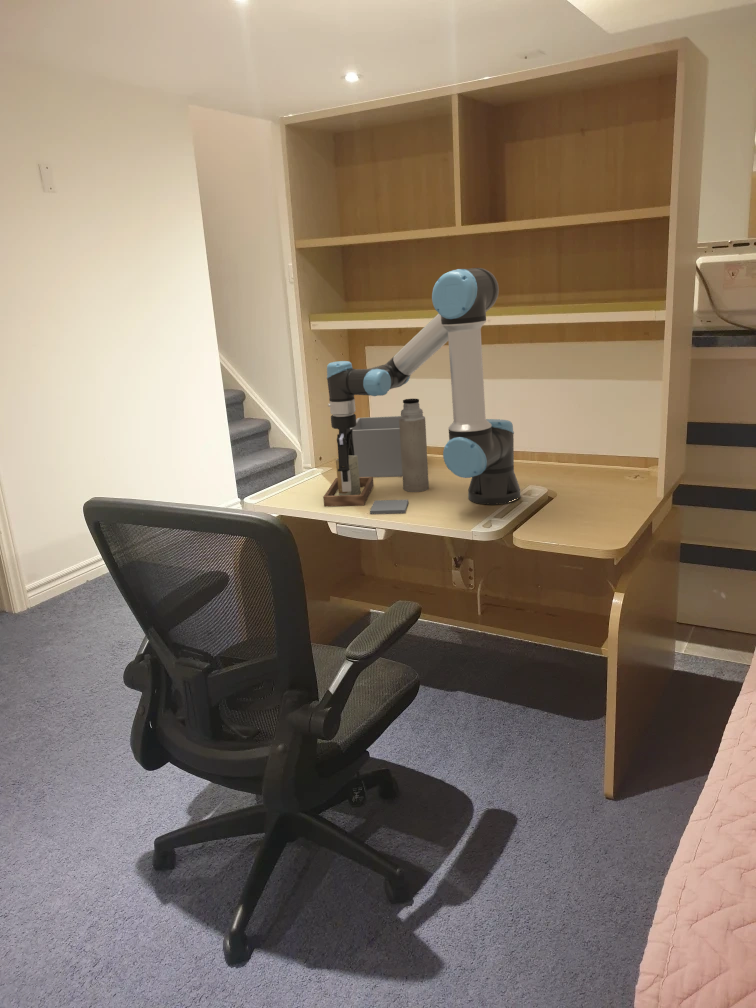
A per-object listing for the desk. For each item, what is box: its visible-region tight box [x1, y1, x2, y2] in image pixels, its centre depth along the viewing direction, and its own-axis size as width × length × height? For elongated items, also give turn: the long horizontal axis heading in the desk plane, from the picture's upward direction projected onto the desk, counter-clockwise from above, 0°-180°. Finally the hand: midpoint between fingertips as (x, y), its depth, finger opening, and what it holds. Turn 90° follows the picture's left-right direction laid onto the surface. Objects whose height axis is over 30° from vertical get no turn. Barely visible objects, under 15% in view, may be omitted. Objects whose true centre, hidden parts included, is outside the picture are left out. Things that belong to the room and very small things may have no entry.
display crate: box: [350, 415, 403, 478], centre depth 266 cm, size 22×22×16 cm
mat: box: [369, 499, 409, 515], centre depth 224 cm, size 10×10×1 cm
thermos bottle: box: [399, 398, 430, 493], centre depth 238 cm, size 8×8×28 cm
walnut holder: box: [322, 477, 374, 507], centre depth 239 cm, size 12×21×3 cm, turn 173°
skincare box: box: [335, 455, 362, 496], centre depth 237 cm, size 6×4×12 cm
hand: (349, 487), depth 238 cm, fingers closed on skincare box, 7 cm apart
